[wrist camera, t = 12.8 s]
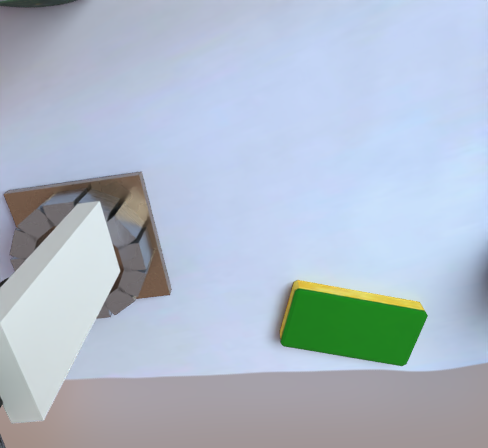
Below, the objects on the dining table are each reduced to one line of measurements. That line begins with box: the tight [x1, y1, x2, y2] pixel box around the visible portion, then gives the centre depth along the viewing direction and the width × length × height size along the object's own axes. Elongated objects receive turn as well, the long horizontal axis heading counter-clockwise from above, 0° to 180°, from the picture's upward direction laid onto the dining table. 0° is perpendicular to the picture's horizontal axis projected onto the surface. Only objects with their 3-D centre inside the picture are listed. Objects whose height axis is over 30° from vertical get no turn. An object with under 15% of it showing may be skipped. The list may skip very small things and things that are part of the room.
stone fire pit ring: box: [4, 172, 172, 319], centre depth 43 cm, size 13×13×4 cm
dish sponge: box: [280, 280, 428, 366], centre depth 48 cm, size 7×14×2 cm, turn 79°
